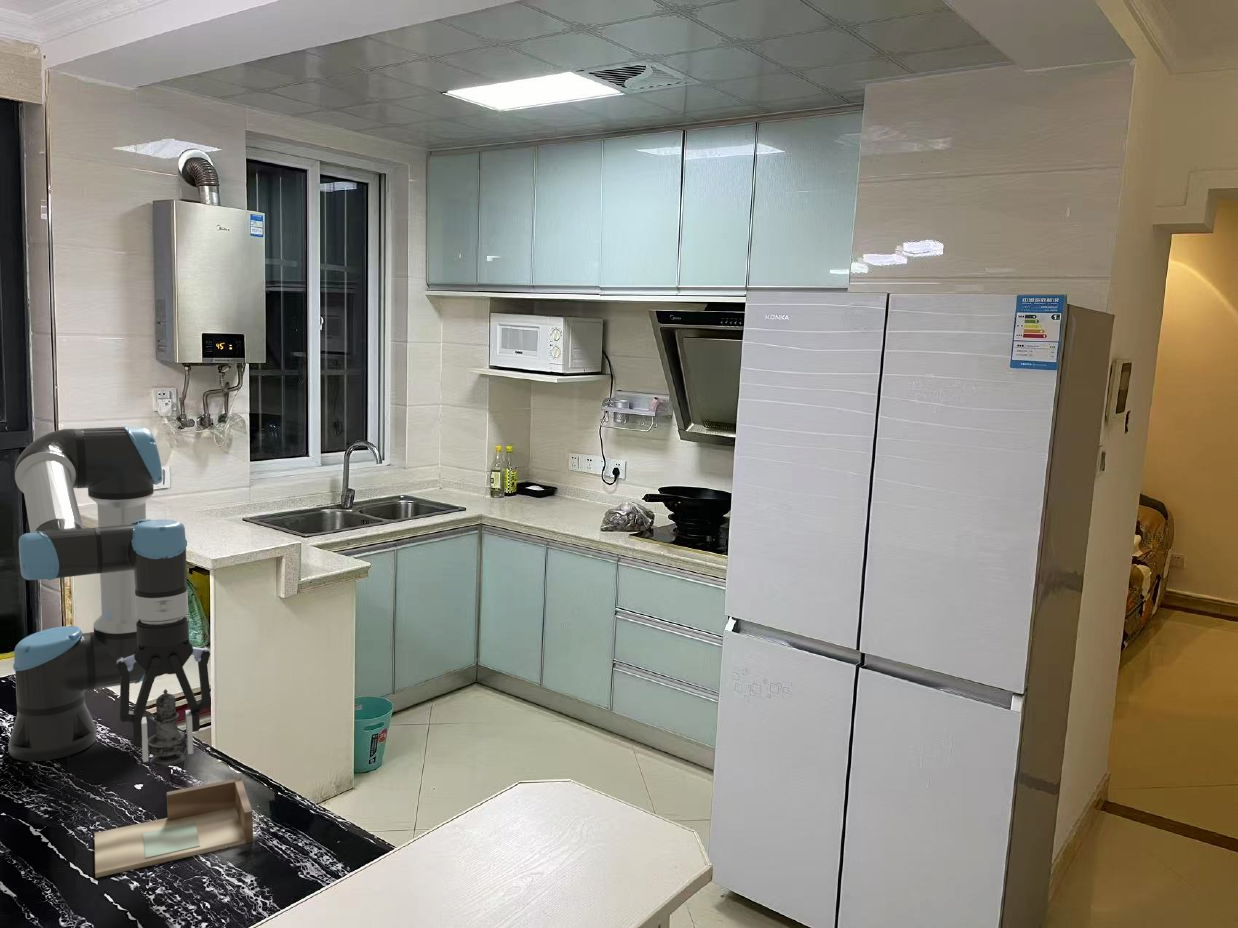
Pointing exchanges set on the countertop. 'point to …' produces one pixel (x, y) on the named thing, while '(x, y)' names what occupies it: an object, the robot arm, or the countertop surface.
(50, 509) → the robot arm
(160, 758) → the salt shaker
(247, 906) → the countertop surface
